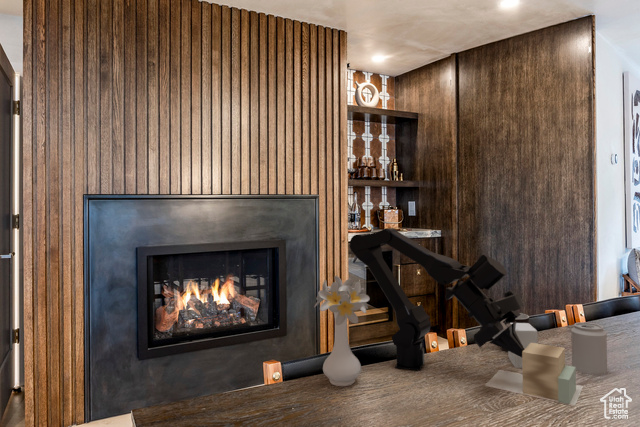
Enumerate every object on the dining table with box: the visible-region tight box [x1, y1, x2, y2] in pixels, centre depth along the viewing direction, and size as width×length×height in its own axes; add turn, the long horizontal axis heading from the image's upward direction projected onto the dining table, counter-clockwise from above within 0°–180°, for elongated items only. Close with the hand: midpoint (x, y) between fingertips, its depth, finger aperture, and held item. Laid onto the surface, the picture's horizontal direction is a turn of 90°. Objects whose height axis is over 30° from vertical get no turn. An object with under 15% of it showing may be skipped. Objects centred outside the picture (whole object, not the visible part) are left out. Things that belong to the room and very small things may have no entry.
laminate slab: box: [484, 369, 584, 407], centre depth 99 cm, size 18×12×1 cm, turn 52°
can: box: [570, 321, 608, 376], centre depth 109 cm, size 8×8×12 cm
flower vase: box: [313, 275, 371, 387], centre depth 106 cm, size 13×18×25 cm
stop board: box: [557, 364, 577, 405], centre depth 94 cm, size 2×9×5 cm, turn 142°
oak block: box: [521, 343, 566, 401], centre depth 97 cm, size 7×8×9 cm
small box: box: [507, 323, 539, 369], centre depth 114 cm, size 8×6×10 cm
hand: (525, 356), depth 99 cm, fingers closed, pressing on oak block
